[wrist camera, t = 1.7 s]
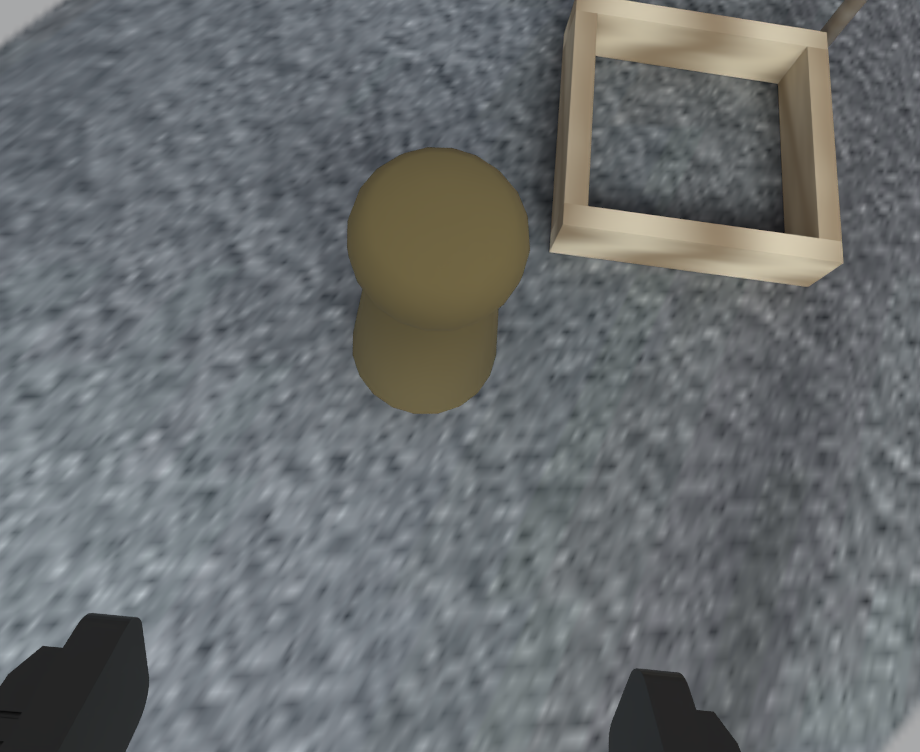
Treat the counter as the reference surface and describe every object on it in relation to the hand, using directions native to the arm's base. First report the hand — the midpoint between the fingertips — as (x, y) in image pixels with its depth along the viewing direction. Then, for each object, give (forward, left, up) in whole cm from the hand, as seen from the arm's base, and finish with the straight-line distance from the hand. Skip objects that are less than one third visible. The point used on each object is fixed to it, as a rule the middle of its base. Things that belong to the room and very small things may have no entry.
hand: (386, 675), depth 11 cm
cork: (0, +11, -15) cm, 18 cm away
